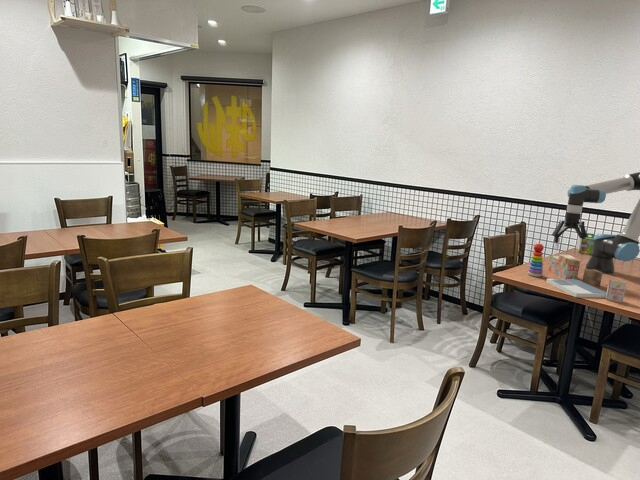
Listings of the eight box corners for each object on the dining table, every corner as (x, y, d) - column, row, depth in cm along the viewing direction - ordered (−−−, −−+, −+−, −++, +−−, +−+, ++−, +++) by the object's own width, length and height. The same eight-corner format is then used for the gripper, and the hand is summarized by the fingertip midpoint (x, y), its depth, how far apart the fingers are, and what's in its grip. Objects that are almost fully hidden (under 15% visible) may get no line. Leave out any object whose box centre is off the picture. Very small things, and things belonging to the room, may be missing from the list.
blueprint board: (576, 282, 245) (577, 278, 245) (608, 297, 222) (609, 293, 222) (546, 282, 243) (546, 278, 243) (575, 297, 220) (576, 292, 219)
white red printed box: (605, 298, 221) (609, 278, 219) (621, 300, 218) (625, 281, 216) (606, 300, 218) (610, 280, 216) (622, 303, 215) (626, 283, 213)
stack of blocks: (548, 270, 270) (551, 250, 267) (558, 270, 270) (562, 251, 267) (565, 280, 249) (569, 259, 246) (576, 281, 249) (580, 260, 246)
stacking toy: (541, 274, 258) (546, 243, 254) (543, 278, 251) (548, 245, 247) (526, 272, 261) (531, 241, 257) (528, 276, 253) (533, 244, 249)
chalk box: (578, 253, 323) (582, 233, 320) (580, 251, 330) (583, 231, 327) (593, 255, 317) (597, 235, 314) (594, 253, 325) (598, 233, 321)
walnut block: (592, 283, 247) (594, 269, 245) (599, 286, 241) (602, 272, 239) (582, 283, 246) (584, 269, 244) (589, 286, 240) (592, 272, 238)
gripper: (589, 212, 256) (582, 247, 261) (549, 210, 253) (543, 246, 258) (598, 214, 249) (591, 250, 254) (557, 212, 246) (551, 249, 250)
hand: (567, 248), depth 256 cm, fingers open, 13 cm apart
